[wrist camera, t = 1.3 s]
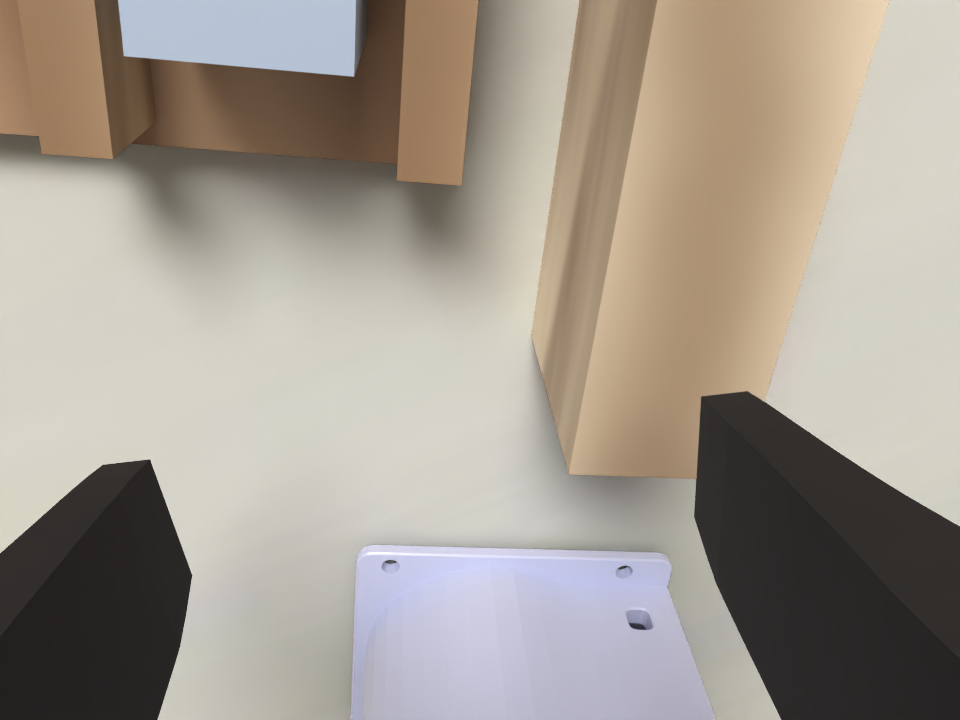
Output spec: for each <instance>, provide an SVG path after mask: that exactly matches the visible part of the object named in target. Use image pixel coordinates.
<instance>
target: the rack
mask: <svg viewBox="0 0 960 720" xmlns="http://www.w3.org/2000/svg"><path fill="white" fill-rule="evenodd" d="M477 11H478V0H368V2H367V35H366V41H365V44H364V47H363V51H362V54H361V57H360V60H359V63H358V66H357V69H356V72H355V76H354V77H352V76H341V75H330V74H318V73H307V72H296V71H285V70H274V69H262V68H251V67H240V66H229V65H217V64H206V63H195V62H184V61H173V60H161V59H150V58H139V57H128V56H124V52H123V42H122V33H121V23H120V14H119V4H118V0H0V133H3V134H16V135H29V136H39V141H40V147H41V153H42V154H50V155H64V156H77V157H90V158H103V159H114V158H115V157H116V156H117V155H118V154H119V153H121V152H122V151H123V150H124V149H125V148H126V147H127V146H129V145H130V144H131V143H132V144H145V145H158V146H170V147H183V148H196V149H209V150H222V151H235V152H248V153H260V154H273V155H286V156H299V157H312V158H325V159H337V160H350V161H363V162H376V163H389V164H397V181H407V182H421V183H434V184H447V185H460V186H462V176H463V165H464V154H465V143H466V132H467V121H468V110H469V99H470V88H471V77H472V66H473V55H474V44H475V33H476V22H477Z"/></svg>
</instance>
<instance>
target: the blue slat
mask: <svg viewBox="0 0 960 720" xmlns="http://www.w3.org/2000/svg"><path fill="white" fill-rule="evenodd" d="M367 2H368V0H118V4H119V14H120V23H121V33H122V42H123V52H124V56H128V57H139V58H150V59H161V60H173V61H184V62H195V63H206V64H217V65H229V66H240V67H251V68H262V69H274V70H285V71H296V72H307V73H318V74H330V75H341V76H352V77H354V76H355V72H356V69H357V66H358V63H359V60H360V57H361V54H362V51H363V47H364V44H365V41H366V35H367Z"/></svg>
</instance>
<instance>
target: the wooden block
mask: <svg viewBox="0 0 960 720" xmlns="http://www.w3.org/2000/svg"><path fill="white" fill-rule="evenodd" d="M889 2H890V0H580V1H579V8H578V15H577V22H576V29H575V36H574V43H573V50H572V57H571V64H570V71H569V78H568V85H567V91H566V98H565V105H564V112H563V119H562V126H561V133H560V140H559V147H558V154H557V161H556V168H555V175H554V181H553V188H552V195H551V202H550V209H549V216H548V223H547V230H546V237H545V244H544V251H543V258H542V265H541V271H540V278H539V285H538V292H537V299H536V306H535V313H534V320H533V327H532V334H531V336H532V340H533V343H534V347H535V351H536V354H537V358H538V362H539V366H540V369H541V373H542V377H543V381H544V384H545V388H546V392H547V395H548V399H549V403H550V407H551V410H552V414H553V418H554V422H555V425H556V429H557V433H558V436H559V440H560V444H561V448H562V451H563V455H564V459H565V462H566V466H567V470H568V474H572V475H600V476H628V477H656V478H684V479H696V478H697V460H698V443H699V425H700V408H701V396H709V395H718V394H726V393H735V392H744V391H748V392H750V393H751V394H753V395H754V396H756V397H758V398H759V399H761V400H762V401H764V400H765V397H766V394H767V390H768V387H769V384H770V381H771V378H772V375H773V371H774V368H775V365H776V362H777V359H778V355H779V352H780V349H781V346H782V343H783V339H784V336H785V333H786V330H787V327H788V324H789V320H790V317H791V314H792V311H793V308H794V304H795V301H796V298H797V295H798V292H799V288H800V285H801V282H802V279H803V276H804V273H805V269H806V266H807V263H808V260H809V257H810V253H811V250H812V247H813V244H814V241H815V237H816V234H817V231H818V228H819V225H820V222H821V218H822V215H823V212H824V209H825V206H826V202H827V199H828V196H829V193H830V190H831V186H832V183H833V180H834V177H835V174H836V171H837V167H838V164H839V161H840V158H841V155H842V151H843V148H844V145H845V142H846V139H847V136H848V132H849V129H850V126H851V123H852V120H853V116H854V113H855V110H856V107H857V104H858V100H859V97H860V94H861V91H862V88H863V85H864V81H865V78H866V75H867V72H868V69H869V65H870V62H871V59H872V56H873V53H874V49H875V46H876V43H877V40H878V37H879V34H880V30H881V27H882V24H883V21H884V18H885V14H886V11H887V8H888V5H889Z"/></svg>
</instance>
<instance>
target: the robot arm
mask: <svg viewBox="0 0 960 720" xmlns="http://www.w3.org/2000/svg"><path fill="white" fill-rule="evenodd" d="M694 517H695V520H696V523H697V527H698V530H699V533H700V536H701V539H702V542H703V546H704V549H705V552H706V555H707V558H708V561H709V564H710V567H711V569H712V572H713V575H714V578H715V581H716V584H717V586H718V588H719V590H720V593H721V595H722V597H723V599H724V601H725V603H726V605H727V607H728V610H729V612H730V614H731V616H732V618H733V620H734V622H735V624H736V626H737V629H738V631H739V633H740V635H741V637H742V639H743V641H744V643H745V645H746V647H747V649H748V651H749V653H750V656H751V658H752V660H753V662H754V664H755V666H756V668H757V670H758V672H759V674H760V676H761V678H762V680H763V682H764V685H765V687H766V689H767V691H768V693H769V695H770V697H771V699H772V701H773V703H774V705H775V707H776V709H777V711H778V713H779V716H780V718H781V720H960V526H958V525H956V524H954V523H952V522H951V521H949V520H947V519H946V518H944V517H942V516H940V515H939V514H937V513H935V512H934V511H932V510H930V509H928V508H927V507H925V506H923V505H921V504H920V503H918V502H916V501H915V500H913V499H911V498H909V497H908V496H906V495H904V494H903V493H901V492H899V491H898V490H896V489H895V488H893V487H891V486H890V485H888V484H886V483H885V482H883V481H882V480H880V479H878V478H877V477H875V476H874V475H872V474H871V473H869V472H867V471H866V470H864V469H863V468H861V467H860V466H858V465H857V464H855V463H854V462H852V461H851V460H849V459H848V458H846V457H845V456H843V455H842V454H840V453H839V452H837V451H836V450H834V449H833V448H831V447H830V446H828V445H827V444H825V443H824V442H822V441H821V440H819V439H818V438H816V437H815V436H813V435H812V434H811V433H809V432H808V431H806V430H805V429H803V428H802V427H800V426H799V425H797V424H796V423H795V422H793V421H792V420H790V419H789V418H787V417H786V416H784V415H783V414H781V413H780V412H779V411H777V410H776V409H774V408H773V407H771V406H770V405H768V404H767V403H765V402H764V401H762V400H761V399H759V398H758V397H756V396H754V395H753V394H751V393H750V392H748V391H744V392H735V393H726V394H718V395H709V396H701V408H700V425H699V443H698V460H697V478H696V496H695V513H694ZM386 560H395V561H397V562H396V563H393V564H389V563H386V562H385V561H386ZM621 566H628V567H626V568H624V569H618V568H619V567H621ZM671 574H672V566H671V563H670V561H669V559H668V557H667V556H666V555H664V554H663V553H657V552H623V551H585V550H547V549H509V548H472V547H434V546H396V545H370V546H366V547H364V548H362V549H361V550H360V551H359V552H358V555H357V560H356V582H355V610H354V638H353V667H352V695H351V720H716V717H715V714H714V712H713V709H712V706H711V704H710V701H709V698H708V695H707V693H706V690H705V687H704V685H703V682H702V679H701V677H700V674H699V671H698V668H697V666H696V663H695V660H694V658H693V655H692V652H691V649H690V647H689V644H688V641H687V639H686V636H685V633H684V630H683V628H682V625H681V622H680V620H679V617H678V614H677V612H676V609H675V606H674V603H673V601H672V598H671V595H670V593H669V590H668V584H669V581H670V577H671ZM191 579H192V574H191V571H190V568H189V566H188V563H187V560H186V557H185V555H184V552H183V549H182V546H181V544H180V541H179V538H178V535H177V533H176V530H175V527H174V524H173V522H172V519H171V516H170V513H169V511H168V508H167V505H166V502H165V500H164V497H163V494H162V491H161V489H160V486H159V483H158V481H157V478H156V475H155V472H154V470H153V467H152V464H151V461H150V460H142V461H133V462H124V463H116V464H107V465H102V466H101V467H100V468H98V469H97V470H96V471H94V472H93V473H92V474H91V475H89V476H88V477H87V478H86V479H84V480H83V481H82V482H81V483H80V484H78V485H77V486H76V487H75V488H74V489H73V490H71V491H70V492H69V493H68V494H67V495H66V496H65V497H64V498H62V499H61V500H60V501H59V502H58V503H57V504H56V505H54V506H53V507H52V508H51V509H50V510H49V511H48V512H47V513H45V514H44V515H43V516H42V517H41V518H40V519H39V520H38V521H37V522H35V523H34V524H33V525H32V526H31V527H30V528H29V529H28V530H26V531H25V532H24V533H23V534H22V535H21V536H20V537H18V538H17V539H16V540H15V541H14V542H13V543H12V544H10V545H9V546H8V547H7V548H6V549H5V550H4V551H3V552H1V553H0V720H157V719H158V716H159V713H160V710H161V706H162V703H163V700H164V697H165V694H166V690H167V687H168V684H169V681H170V678H171V674H172V671H173V668H174V665H175V661H176V658H177V655H178V651H179V648H180V643H181V638H182V633H183V627H184V622H185V617H186V611H187V605H188V598H189V592H190V585H191Z"/></svg>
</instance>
